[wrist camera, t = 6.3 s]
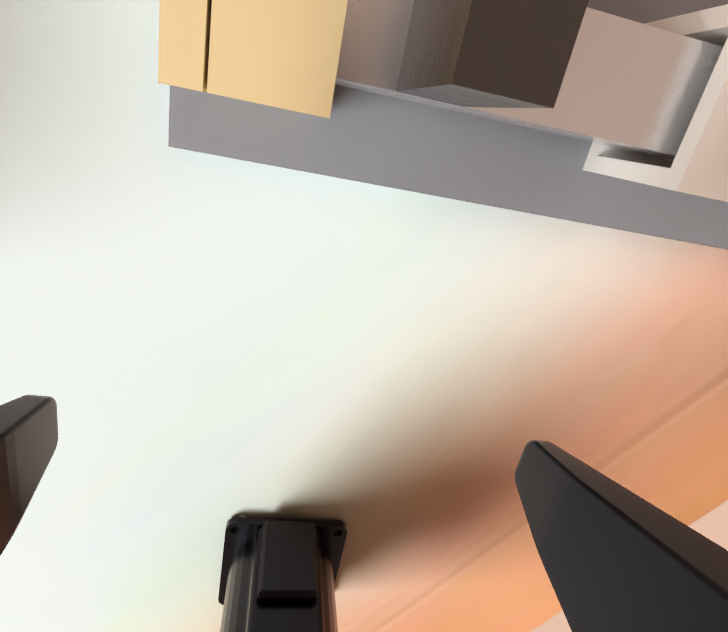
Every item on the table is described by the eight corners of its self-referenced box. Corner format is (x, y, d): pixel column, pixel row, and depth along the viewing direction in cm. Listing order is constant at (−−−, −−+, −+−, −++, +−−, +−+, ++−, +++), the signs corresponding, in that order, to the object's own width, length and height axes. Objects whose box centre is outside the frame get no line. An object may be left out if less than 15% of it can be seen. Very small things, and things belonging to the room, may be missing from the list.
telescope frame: (796, 259, 23) (953, 308, 17) (175, 144, 17) (118, 162, 11) (916, 54, 19) (1159, 35, 14) (185, -180, 13) (110, -372, 8)
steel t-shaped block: (686, 163, 18) (954, 203, 10) (230, 60, 14) (164, 16, 7) (724, 77, 17) (1056, 55, 9) (238, -58, 13) (169, -253, 6)
